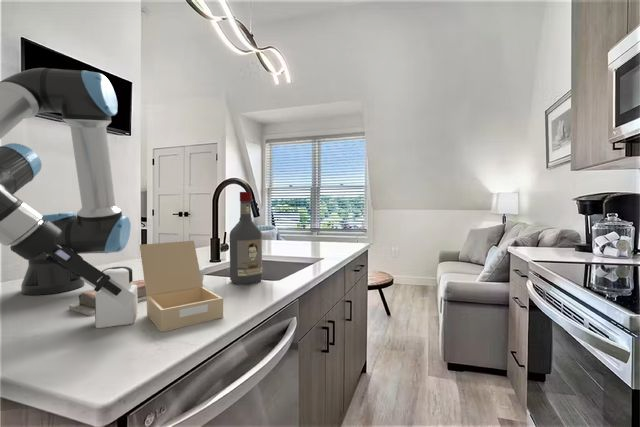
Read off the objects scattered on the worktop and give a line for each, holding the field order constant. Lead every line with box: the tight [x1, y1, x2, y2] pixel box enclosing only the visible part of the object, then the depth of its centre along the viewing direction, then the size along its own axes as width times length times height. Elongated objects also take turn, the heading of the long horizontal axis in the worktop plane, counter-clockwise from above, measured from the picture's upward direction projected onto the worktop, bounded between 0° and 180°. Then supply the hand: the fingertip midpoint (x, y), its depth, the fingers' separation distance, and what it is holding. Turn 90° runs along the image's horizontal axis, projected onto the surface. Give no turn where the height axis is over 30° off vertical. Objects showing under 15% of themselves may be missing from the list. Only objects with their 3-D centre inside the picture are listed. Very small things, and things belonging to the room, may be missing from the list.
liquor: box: [229, 191, 263, 286], centre depth 109 cm, size 9×9×30 cm
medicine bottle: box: [94, 266, 139, 329], centre depth 73 cm, size 7×7×12 cm
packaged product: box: [68, 279, 147, 317], centre depth 86 cm, size 18×5×10 cm
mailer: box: [139, 240, 224, 333], centre depth 78 cm, size 20×13×16 cm, turn 39°
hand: (118, 294), depth 72 cm, fingers open, 13 cm apart
